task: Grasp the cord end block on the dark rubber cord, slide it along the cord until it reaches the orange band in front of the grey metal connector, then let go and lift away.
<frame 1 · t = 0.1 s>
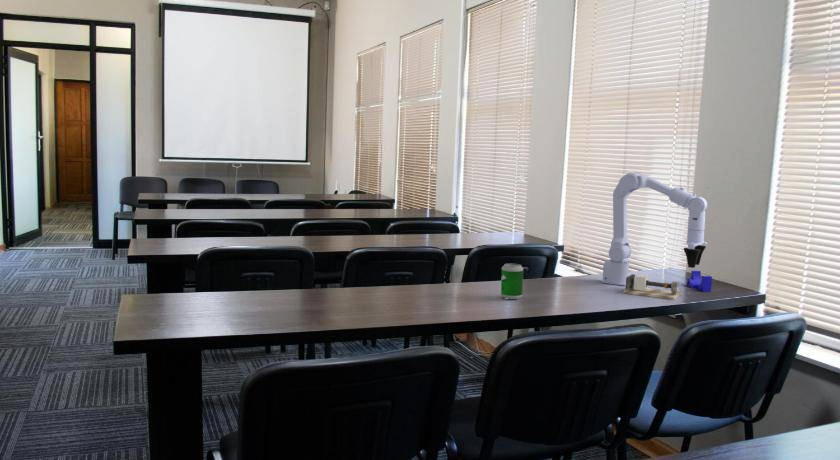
hand: (693, 266, 243), 10 cm above the table, fingers open, 7 cm apart
blue stepped block: (698, 289, 251), on the table
cord end block: (641, 282, 242), point 4 cm above the table, slide at 0.0 cm
soda can: (511, 298, 232), on the table
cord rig: (651, 293, 241), on the table
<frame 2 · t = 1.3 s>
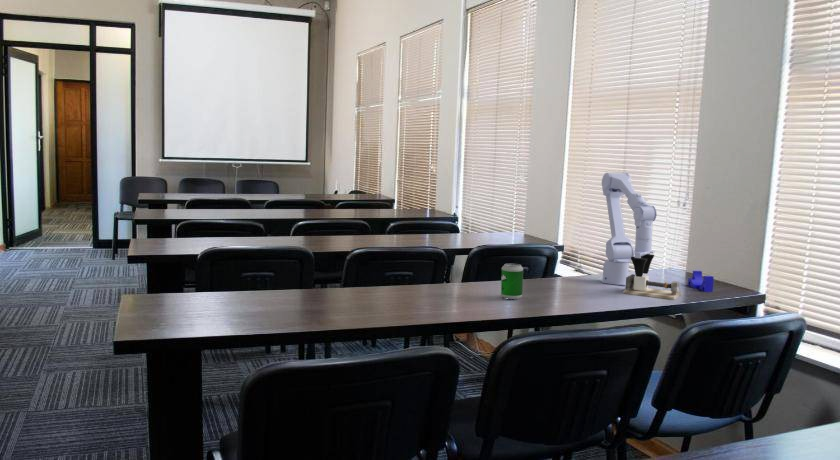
hand: (641, 275, 242), 7 cm above the table, fingers open, 7 cm apart
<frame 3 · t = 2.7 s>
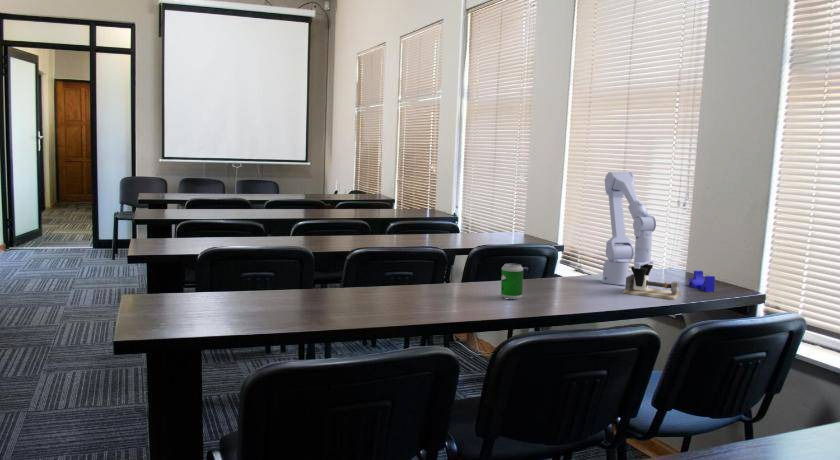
hand: (641, 284, 243), 3 cm above the table, fingers closed on cord end block, 5 cm apart
cord end block: (641, 282, 242), point 4 cm above the table, slide at 0.0 cm, touching gripper
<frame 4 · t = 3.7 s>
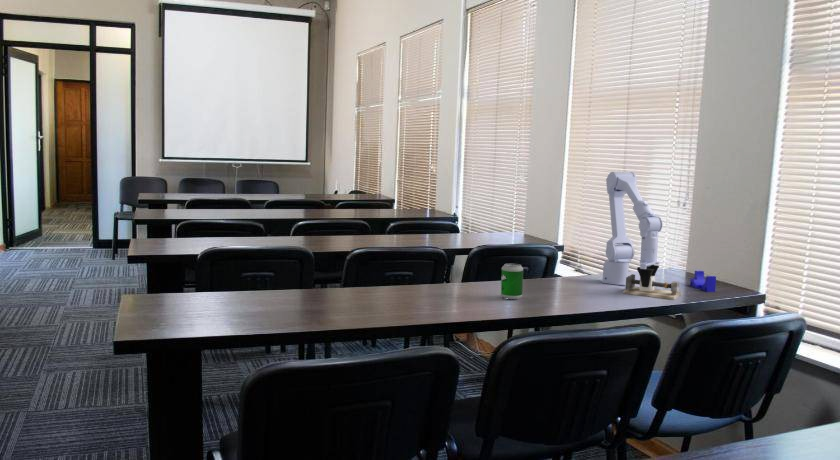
hand: (647, 285, 241), 3 cm above the table, fingers closed on cord end block, 5 cm apart
cord end block: (647, 283, 241), point 4 cm above the table, slide at 2.2 cm, touching gripper
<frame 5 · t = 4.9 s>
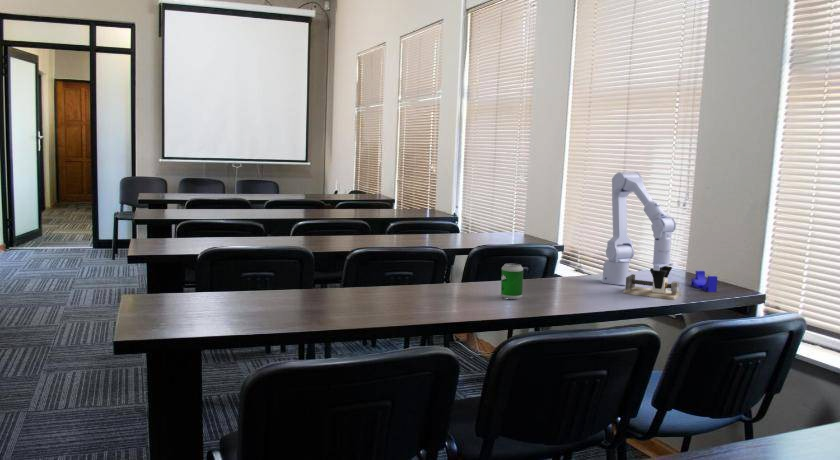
hand: (660, 287, 239), 3 cm above the table, fingers closed on cord end block, 5 cm apart
cord end block: (660, 284, 239), point 4 cm above the table, slide at 6.8 cm, touching gripper
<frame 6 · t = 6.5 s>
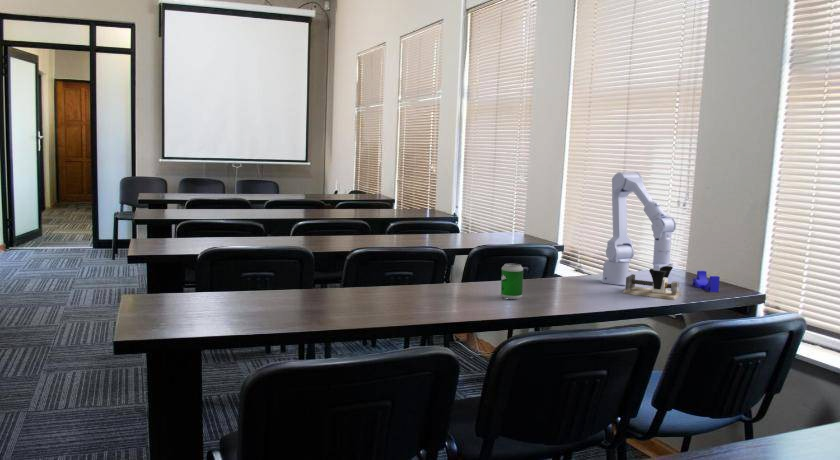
hand: (660, 287, 239), 3 cm above the table, fingers open, 7 cm apart
cord end block: (660, 284, 239), point 4 cm above the table, slide at 6.8 cm
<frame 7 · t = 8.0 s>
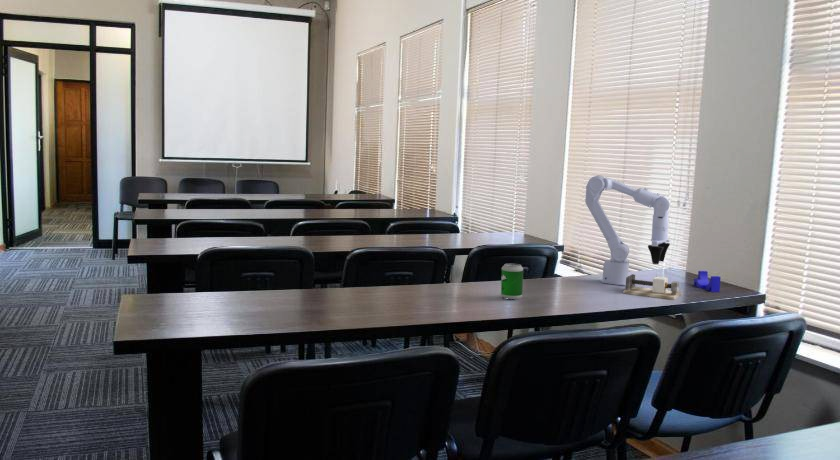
hand: (658, 262, 253), 9 cm above the table, fingers open, 7 cm apart
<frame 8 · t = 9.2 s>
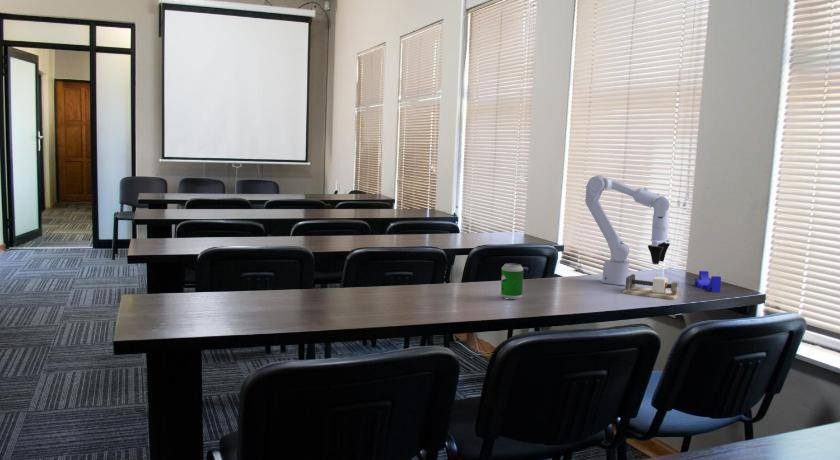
hand: (658, 262, 253), 9 cm above the table, fingers open, 7 cm apart
at the end: cord end block slide at 6.8 cm; the gripper is holding nothing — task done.
